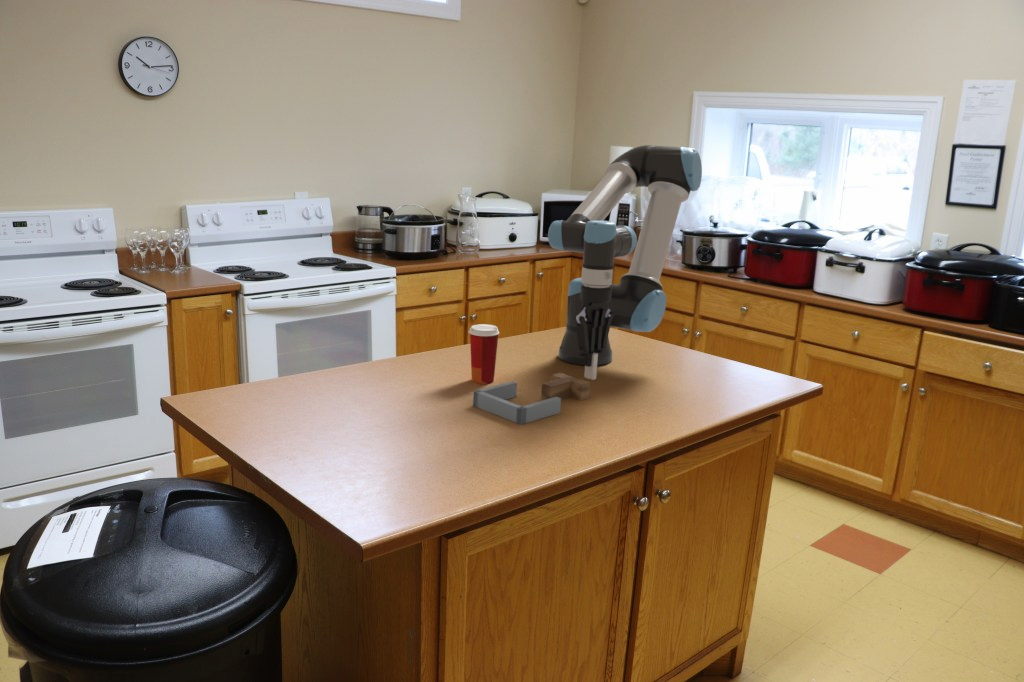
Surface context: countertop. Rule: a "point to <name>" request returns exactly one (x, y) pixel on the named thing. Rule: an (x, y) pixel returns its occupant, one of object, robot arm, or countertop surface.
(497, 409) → the corral
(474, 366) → the paper cup
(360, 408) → the countertop surface
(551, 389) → the tee block
